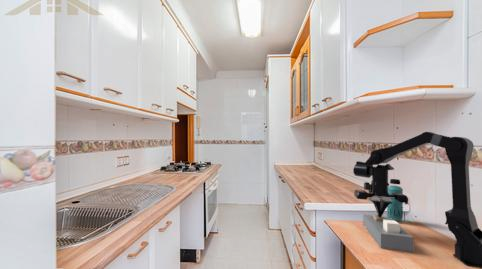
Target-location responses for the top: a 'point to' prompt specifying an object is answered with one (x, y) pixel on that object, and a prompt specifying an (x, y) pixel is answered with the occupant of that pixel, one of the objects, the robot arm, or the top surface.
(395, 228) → the white peg
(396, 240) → the collar block
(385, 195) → the robot arm
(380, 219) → the birch peg
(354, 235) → the top surface
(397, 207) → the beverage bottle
